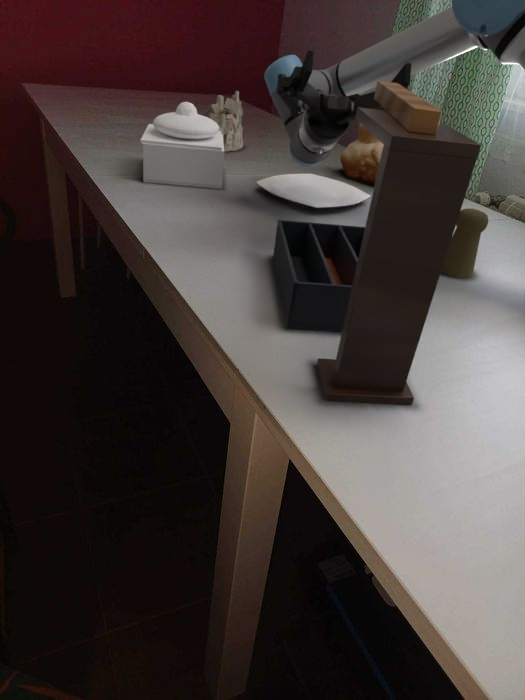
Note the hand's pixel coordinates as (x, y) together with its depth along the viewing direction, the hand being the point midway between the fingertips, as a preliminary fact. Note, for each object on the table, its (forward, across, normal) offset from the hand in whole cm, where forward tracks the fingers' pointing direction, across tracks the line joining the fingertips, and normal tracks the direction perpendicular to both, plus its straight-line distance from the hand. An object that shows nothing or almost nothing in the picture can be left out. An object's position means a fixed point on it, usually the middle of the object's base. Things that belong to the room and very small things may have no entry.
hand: (359, 67), depth 72 cm
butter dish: (-59, +26, -2) cm, 64 cm away
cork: (-20, -25, -24) cm, 40 cm away
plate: (-51, -4, -6) cm, 52 cm away
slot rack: (-9, 0, -30) cm, 31 cm away
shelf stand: (+8, 0, -39) cm, 40 cm away
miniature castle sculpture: (-89, +18, +16) cm, 92 cm away
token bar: (+17, 0, -12) cm, 21 cm away
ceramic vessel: (-67, -26, +4) cm, 72 cm away
